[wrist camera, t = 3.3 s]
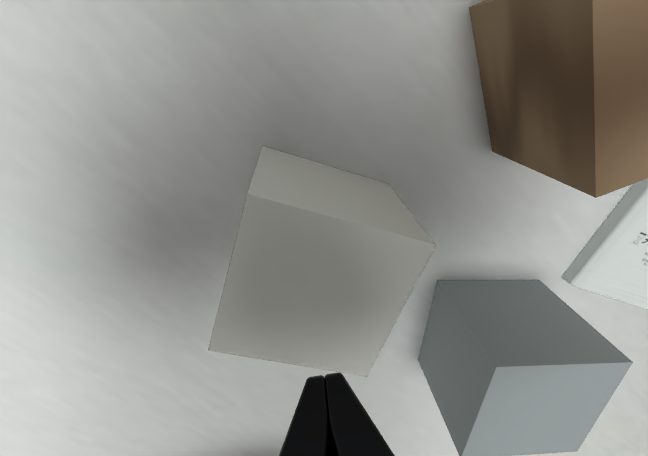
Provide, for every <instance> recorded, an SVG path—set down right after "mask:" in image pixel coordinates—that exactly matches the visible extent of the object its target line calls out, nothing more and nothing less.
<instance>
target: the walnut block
mask: <svg viewBox="0 0 648 456" xmlns="http://www.w3.org/2000/svg"><path fill="white" fill-rule="evenodd" d="M469 10H470V16H471V22H472V29H473V35H474V41H475V47H476V53H477V59H478V66H479V72H480V78H481V84H482V90H483V96H484V102H485V109H486V115H487V121H488V127H489V133H490V139H491V146H492V151H493V152H495V153H497V154H500V155H502V156H504V157H506V158H508V159H511V160H513V161H515V162H517V163H520V164H522V165H524V166H526V167H529V168H531V169H533V170H535V171H537V172H540V173H542V174H544V175H546V176H549V177H551V178H553V179H555V180H558V181H560V182H562V183H564V184H566V185H569V186H571V187H573V188H575V189H578V190H580V191H582V192H584V193H587V194H589V195H591V196H593V197H595V198H596V197H599V196H602V195H604V194H607V193H610V192H612V191H615V190H618V189H620V188H623V187H625V186H628V185H631V184H633V183H636V182H639V181H641V180H644V179H647V178H648V0H485V1H483V2H481V3H478V4H476V5H474V6H472V7H469Z"/></svg>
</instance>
